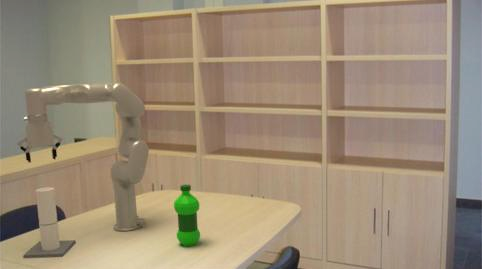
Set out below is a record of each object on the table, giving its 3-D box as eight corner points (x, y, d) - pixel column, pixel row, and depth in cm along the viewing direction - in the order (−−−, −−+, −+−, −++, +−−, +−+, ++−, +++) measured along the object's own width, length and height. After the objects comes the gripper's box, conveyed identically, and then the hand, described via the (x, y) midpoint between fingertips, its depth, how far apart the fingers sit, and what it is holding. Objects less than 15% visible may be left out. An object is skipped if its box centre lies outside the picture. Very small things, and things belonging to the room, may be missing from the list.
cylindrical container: (57, 243, 228) (51, 186, 224) (62, 247, 222) (56, 189, 218) (39, 247, 224) (33, 189, 220) (44, 251, 218) (38, 192, 214)
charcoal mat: (75, 242, 231) (75, 240, 231) (62, 256, 215) (62, 253, 215) (39, 243, 231) (39, 241, 231) (23, 257, 216) (23, 255, 215)
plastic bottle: (178, 240, 228) (174, 183, 225) (202, 239, 228) (199, 182, 224) (174, 248, 218) (170, 189, 215) (200, 247, 218) (196, 188, 214)
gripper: (15, 121, 208) (20, 164, 210) (61, 117, 216) (65, 159, 219) (13, 120, 214) (18, 161, 217) (58, 116, 223) (62, 156, 225)
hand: (42, 160), depth 218 cm, fingers open, 9 cm apart
